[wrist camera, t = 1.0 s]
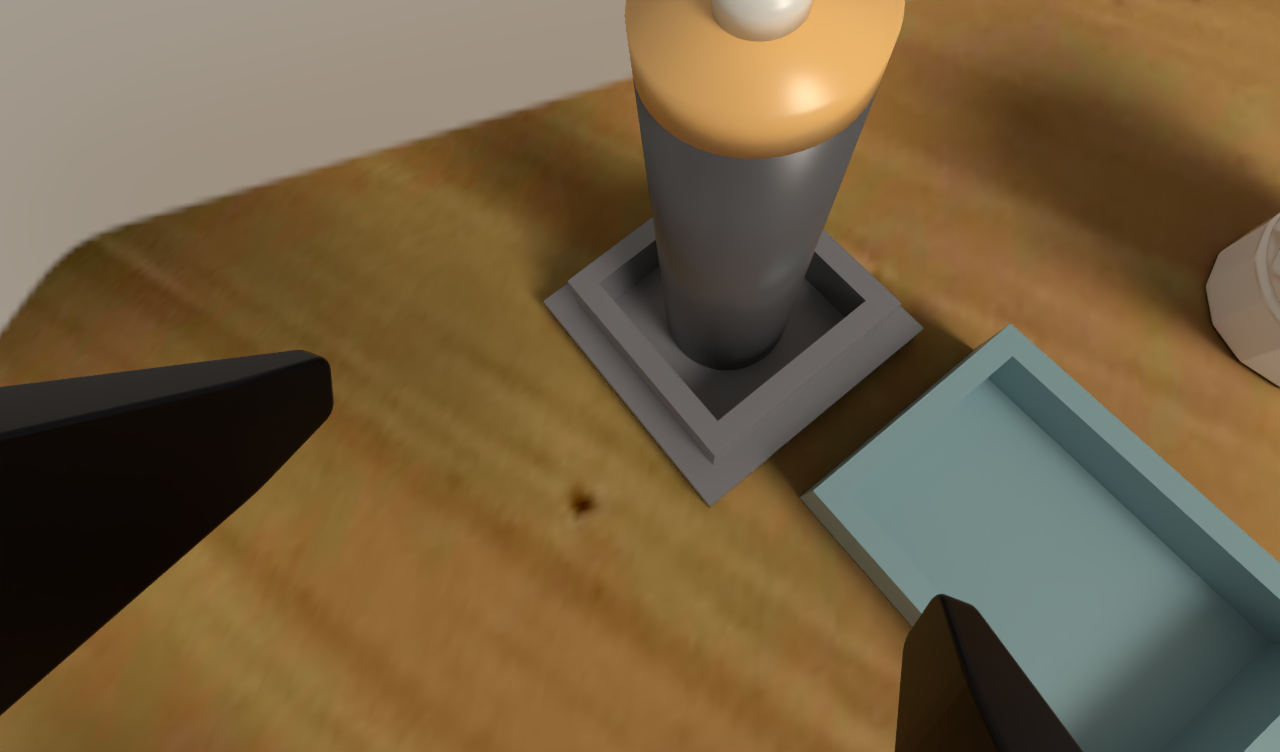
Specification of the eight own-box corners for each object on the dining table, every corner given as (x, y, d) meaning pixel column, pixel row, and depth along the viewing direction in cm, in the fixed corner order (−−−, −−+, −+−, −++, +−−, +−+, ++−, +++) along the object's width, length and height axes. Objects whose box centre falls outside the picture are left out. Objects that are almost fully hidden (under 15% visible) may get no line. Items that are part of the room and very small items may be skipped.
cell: (719, 394, 21) (752, 140, 8) (643, 308, 22) (564, -34, 9) (811, 320, 21) (985, -36, 8) (731, 240, 23) (776, -178, 10)
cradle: (709, 507, 21) (710, 501, 18) (549, 311, 24) (528, 278, 21) (914, 337, 22) (946, 306, 19) (737, 168, 25) (742, 118, 22)
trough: (1097, 838, 17) (1165, 889, 14) (799, 497, 21) (813, 490, 18) (1292, 644, 18) (1388, 660, 15) (974, 349, 21) (1010, 323, 19)
